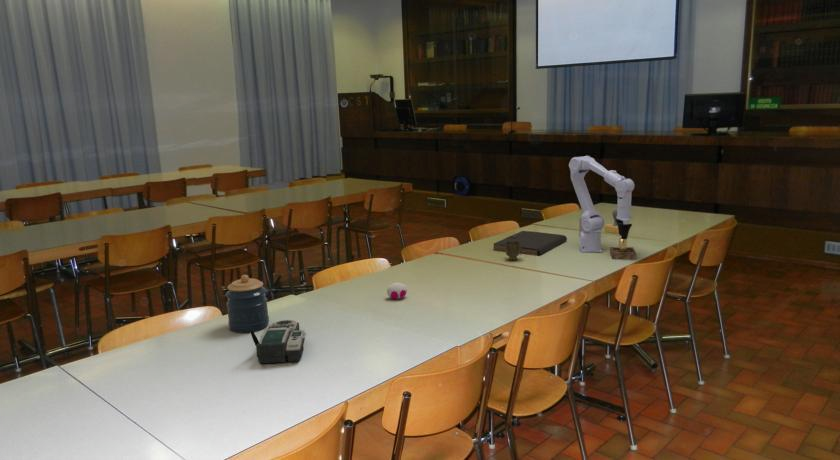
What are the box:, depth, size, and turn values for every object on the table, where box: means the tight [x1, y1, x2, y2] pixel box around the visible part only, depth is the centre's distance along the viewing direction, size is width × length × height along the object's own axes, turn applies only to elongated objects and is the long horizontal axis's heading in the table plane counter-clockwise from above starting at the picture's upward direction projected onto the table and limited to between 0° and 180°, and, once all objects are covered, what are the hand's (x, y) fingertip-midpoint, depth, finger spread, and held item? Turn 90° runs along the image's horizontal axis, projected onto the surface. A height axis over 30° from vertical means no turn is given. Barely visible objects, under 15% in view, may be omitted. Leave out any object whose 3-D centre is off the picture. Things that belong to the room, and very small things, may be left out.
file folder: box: [492, 230, 568, 257], centre depth 303 cm, size 33×4×24 cm
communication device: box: [249, 319, 307, 365], centre depth 188 cm, size 14×28×10 cm, turn 5°
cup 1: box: [504, 241, 521, 261], centre depth 278 cm, size 8×7×8 cm
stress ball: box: [386, 282, 408, 300], centre depth 230 cm, size 8×8×7 cm
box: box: [609, 246, 637, 260], centre depth 278 cm, size 10×10×3 cm
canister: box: [225, 274, 270, 334], centre depth 205 cm, size 13×13×18 cm
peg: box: [618, 238, 628, 252], centre depth 277 cm, size 3×3×8 cm
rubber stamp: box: [603, 209, 619, 235], centre depth 325 cm, size 10×6×12 cm, turn 48°
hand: (623, 237), depth 276 cm, fingers open, 7 cm apart
